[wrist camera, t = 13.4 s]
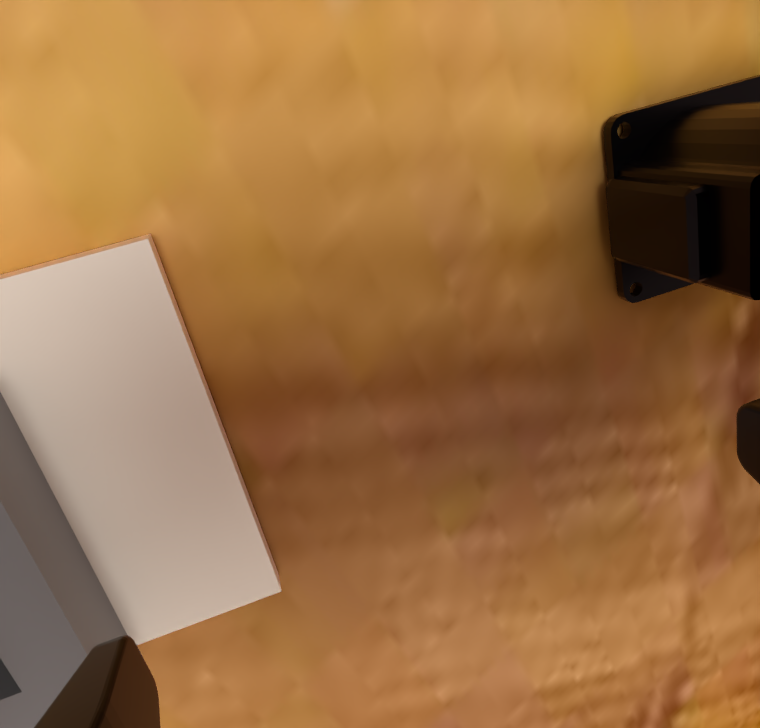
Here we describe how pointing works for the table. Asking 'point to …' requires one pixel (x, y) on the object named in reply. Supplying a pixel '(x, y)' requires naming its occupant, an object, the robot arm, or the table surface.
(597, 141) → the table surface
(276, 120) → the table surface
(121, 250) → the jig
